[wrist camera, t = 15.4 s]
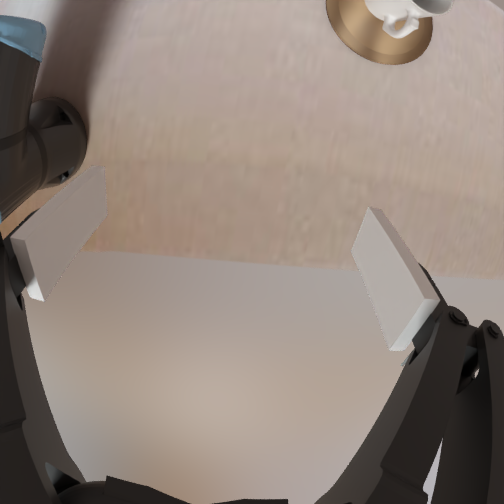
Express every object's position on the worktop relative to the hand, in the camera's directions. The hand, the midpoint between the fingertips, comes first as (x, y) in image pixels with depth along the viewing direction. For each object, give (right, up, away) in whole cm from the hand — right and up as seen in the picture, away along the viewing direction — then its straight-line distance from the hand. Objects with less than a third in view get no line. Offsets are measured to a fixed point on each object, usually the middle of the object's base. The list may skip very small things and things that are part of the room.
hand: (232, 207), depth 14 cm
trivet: (+19, +30, +13) cm, 38 cm away
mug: (+18, +30, +13) cm, 37 cm away
